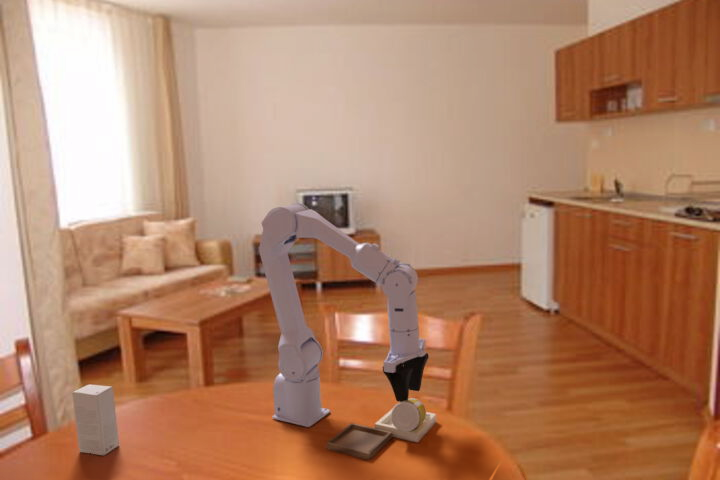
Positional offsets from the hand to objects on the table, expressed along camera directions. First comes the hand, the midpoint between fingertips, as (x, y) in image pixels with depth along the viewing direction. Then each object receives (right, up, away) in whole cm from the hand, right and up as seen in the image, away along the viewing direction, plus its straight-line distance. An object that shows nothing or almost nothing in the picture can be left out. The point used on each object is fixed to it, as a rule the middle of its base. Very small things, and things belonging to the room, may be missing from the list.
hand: (408, 395), depth 110 cm
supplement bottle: (-1, -2, -6) cm, 7 cm away
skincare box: (-59, -10, -2) cm, 60 cm away
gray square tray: (-10, -8, -4) cm, 13 cm away
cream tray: (0, -7, +1) cm, 7 cm away
